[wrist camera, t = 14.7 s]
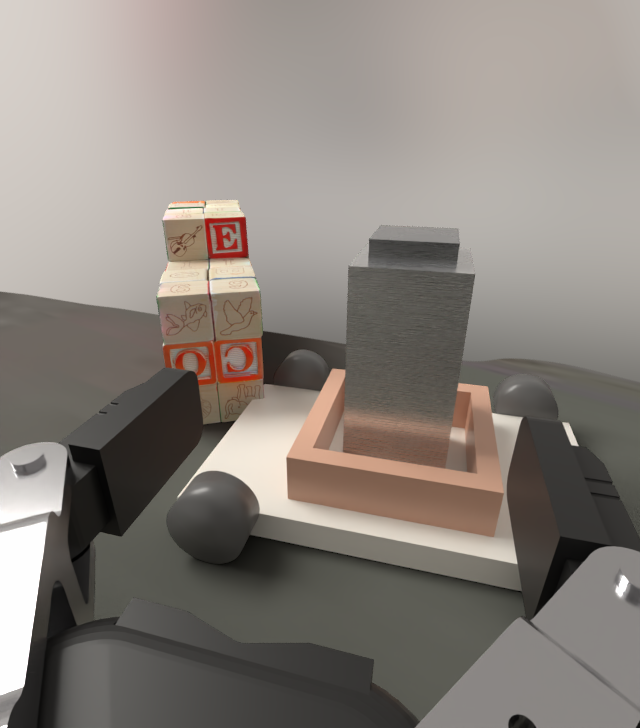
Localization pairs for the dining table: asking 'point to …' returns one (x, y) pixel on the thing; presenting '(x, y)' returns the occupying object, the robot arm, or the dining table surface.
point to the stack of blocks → (212, 306)
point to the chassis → (361, 481)
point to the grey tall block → (405, 343)
